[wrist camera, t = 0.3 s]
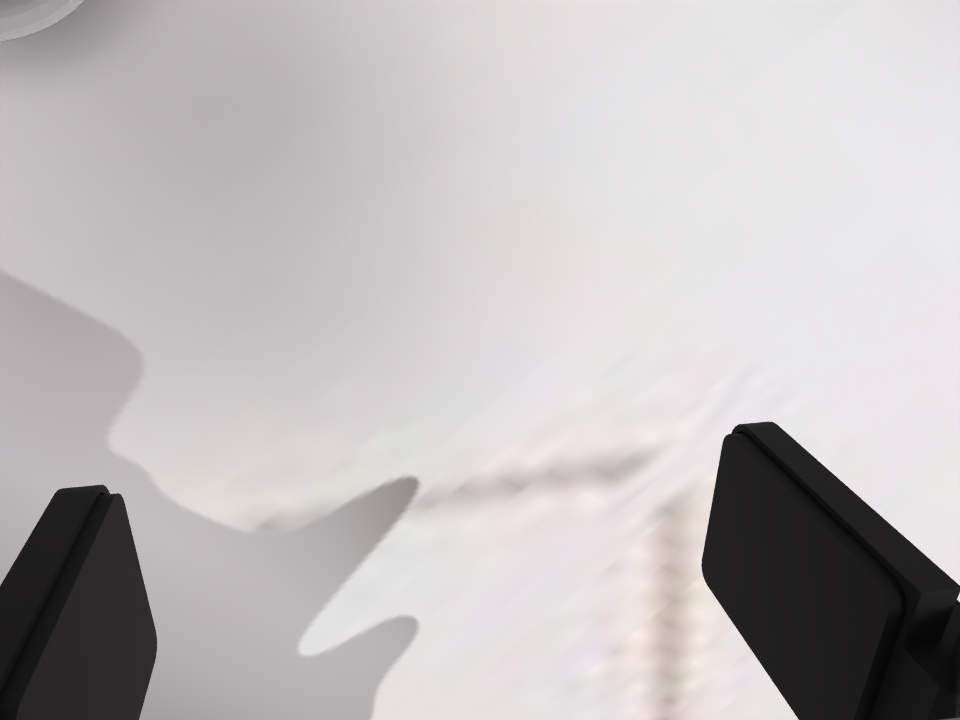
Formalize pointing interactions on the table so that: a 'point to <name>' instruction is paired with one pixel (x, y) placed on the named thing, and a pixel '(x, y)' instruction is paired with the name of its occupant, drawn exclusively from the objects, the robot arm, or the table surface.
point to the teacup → (31, 16)
